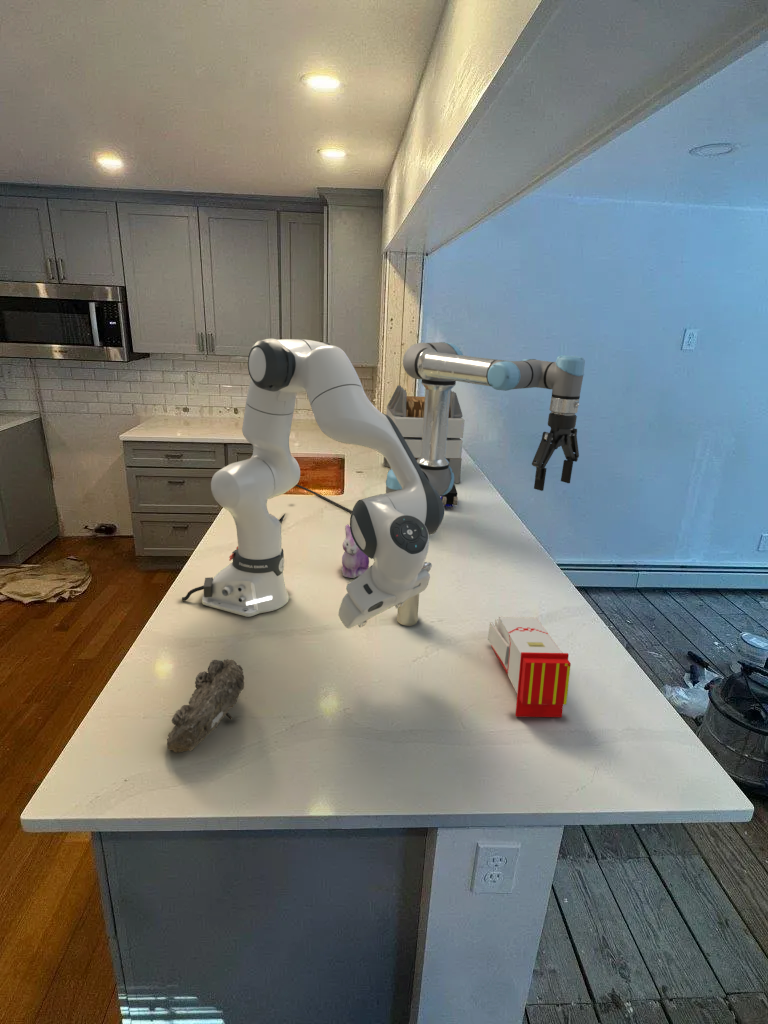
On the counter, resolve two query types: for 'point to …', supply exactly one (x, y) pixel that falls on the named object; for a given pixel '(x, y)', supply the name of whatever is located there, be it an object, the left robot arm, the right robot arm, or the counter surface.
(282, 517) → the feather
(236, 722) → the counter surface
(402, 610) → the thermos bottle
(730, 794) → the counter surface
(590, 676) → the counter surface
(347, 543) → the figurine
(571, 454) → the right robot arm
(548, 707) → the toy
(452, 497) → the figurine character
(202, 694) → the fossil
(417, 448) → the transformer
